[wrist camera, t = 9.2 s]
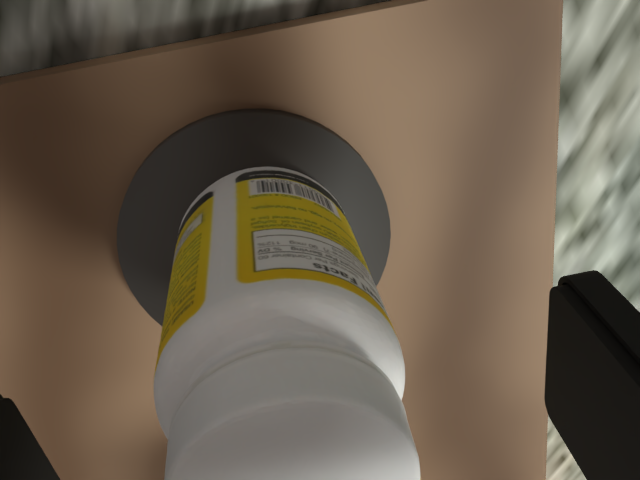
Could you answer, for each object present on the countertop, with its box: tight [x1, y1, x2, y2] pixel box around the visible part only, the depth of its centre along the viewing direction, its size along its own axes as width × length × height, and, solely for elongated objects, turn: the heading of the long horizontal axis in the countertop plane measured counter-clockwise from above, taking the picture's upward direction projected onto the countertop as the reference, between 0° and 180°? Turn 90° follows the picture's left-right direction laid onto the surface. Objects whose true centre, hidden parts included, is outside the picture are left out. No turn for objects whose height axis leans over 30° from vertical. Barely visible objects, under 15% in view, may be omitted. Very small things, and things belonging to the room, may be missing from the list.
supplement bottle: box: [153, 167, 420, 480], centre depth 12 cm, size 5×5×8 cm
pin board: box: [0, 0, 563, 480], centre depth 20 cm, size 18×22×2 cm
